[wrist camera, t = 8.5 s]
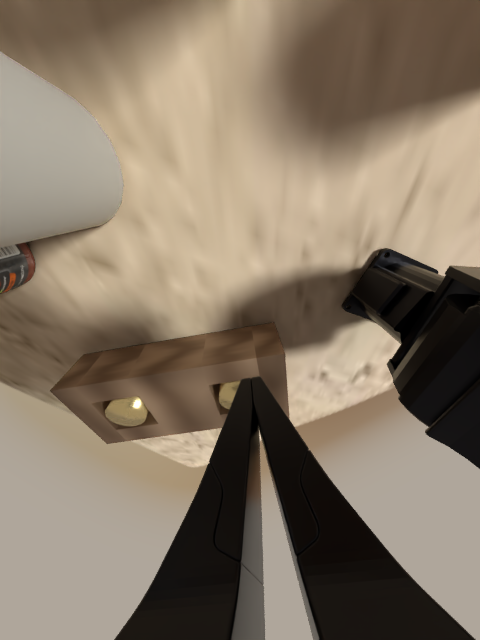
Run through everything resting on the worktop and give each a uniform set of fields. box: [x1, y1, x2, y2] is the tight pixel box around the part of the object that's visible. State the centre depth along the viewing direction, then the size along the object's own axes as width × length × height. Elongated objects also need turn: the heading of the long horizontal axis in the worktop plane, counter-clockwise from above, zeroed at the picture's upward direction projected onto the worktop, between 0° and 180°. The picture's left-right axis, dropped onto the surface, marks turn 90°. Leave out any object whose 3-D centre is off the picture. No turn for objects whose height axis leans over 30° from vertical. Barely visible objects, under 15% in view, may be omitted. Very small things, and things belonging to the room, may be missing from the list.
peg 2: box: [219, 380, 241, 409], centre depth 22 cm, size 4×4×5 cm
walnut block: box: [50, 322, 289, 444], centre depth 22 cm, size 22×10×5 cm, turn 100°
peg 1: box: [105, 396, 149, 426], centre depth 23 cm, size 4×4×5 cm
